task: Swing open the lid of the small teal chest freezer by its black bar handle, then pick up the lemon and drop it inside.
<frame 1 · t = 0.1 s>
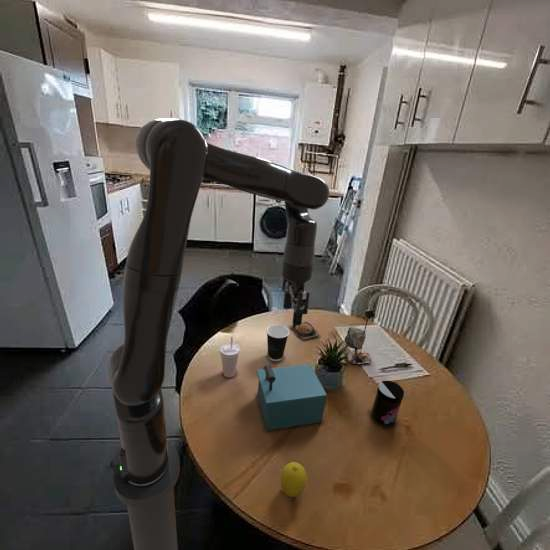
hand: (291, 316, 83), 27 cm above the table, tool pointing down, fingers open, 8 cm apart
supplement container: (382, 417, 89), on the table
lemon: (291, 492, 67), on the table
dixie cup: (275, 357, 110), on the table
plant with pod: (355, 358, 113), on the table
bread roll: (304, 332, 126), on the table
freezer lid: (291, 376, 84), point 12 cm above the table, hinge at 0.0°
freezer: (288, 408, 89), on the table
smoothie: (229, 374, 100), on the table
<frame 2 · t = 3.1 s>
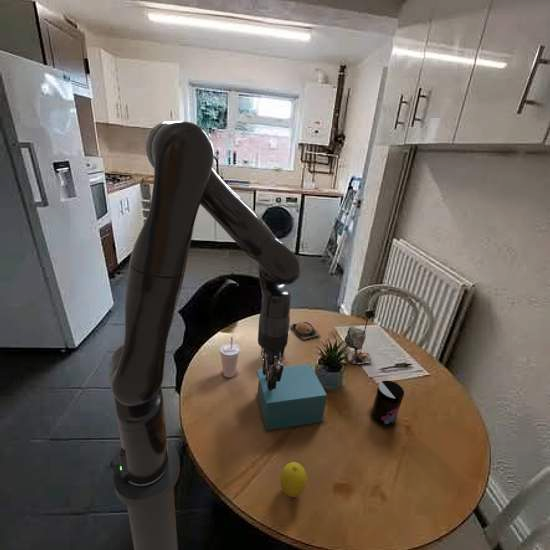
hand: (268, 380, 83), 11 cm above the table, tool pointing down, fingers closed on freezer lid, 5 cm apart
freezer lid: (291, 376, 84), point 12 cm above the table, hinge at 0.0°, touching gripper
everything else where it was.
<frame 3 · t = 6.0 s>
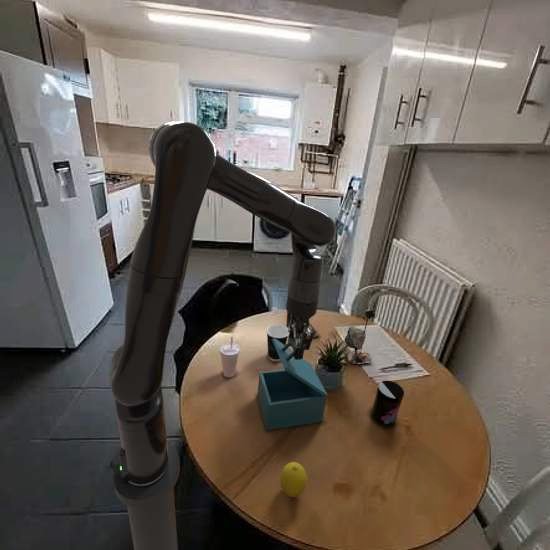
hand: (294, 351, 81), 20 cm above the table, tool pointing down, fingers closed on freezer lid, 5 cm apart
freezer lid: (305, 360, 83), point 16 cm above the table, hinge at 40.7°, touching gripper
everything else where it was.
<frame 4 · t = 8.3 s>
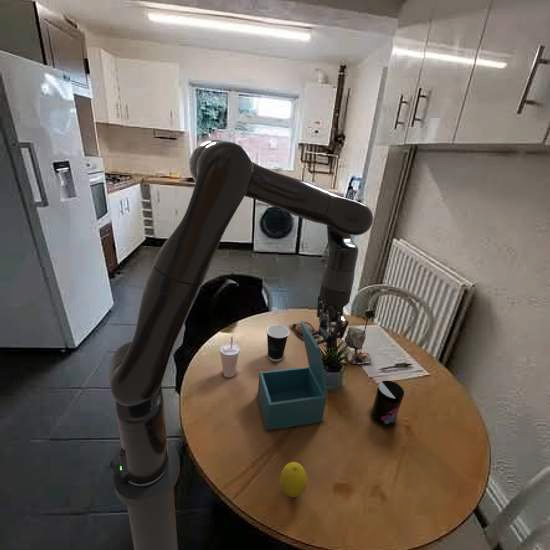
hand: (326, 340, 82), 22 cm above the table, tool pointing down, fingers closed on freezer lid, 5 cm apart
freezer lid: (322, 354, 84), point 18 cm above the table, hinge at 73.7°, touching gripper
everything else where it was.
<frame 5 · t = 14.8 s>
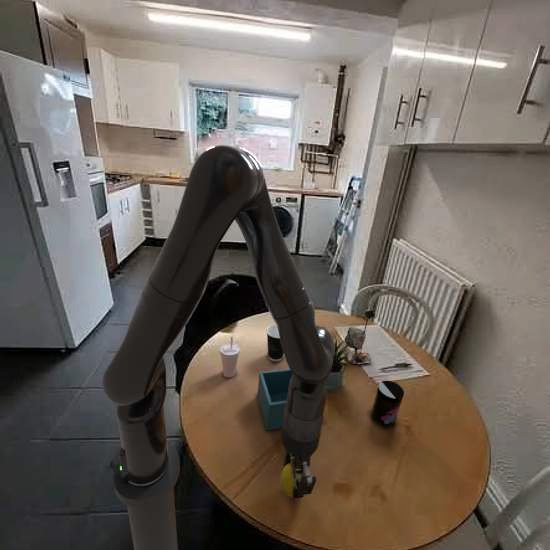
hand: (293, 481, 66), 4 cm above the table, tool pointing down, fingers closed on lemon, 5 cm apart
lemon: (291, 492, 67), on the table, touching gripper
freezer lid: (322, 354, 84), point 18 cm above the table, hinge at 74.4°
everything else where it was.
when the fingers open (10 cm above the table, at t = 22.2 s): lemon drops 5 cm, resting on freezer.
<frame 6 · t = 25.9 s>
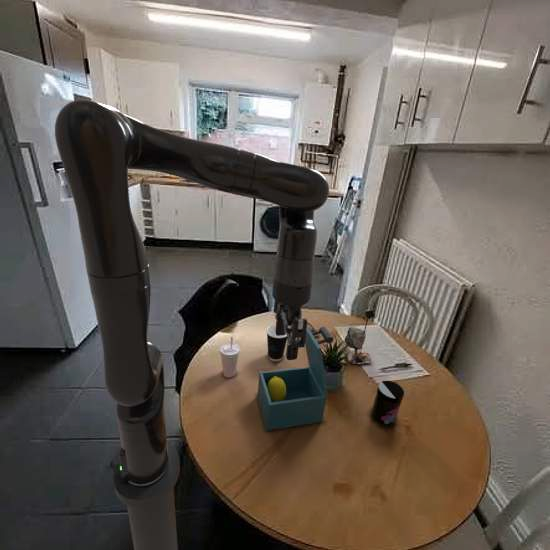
hand: (285, 346, 66), 30 cm above the table, tool pointing down, fingers open, 8 cm apart
lemon: (278, 405, 88), point 1 cm above the table, touching freezer
everything else where it was.
at the end: freezer lid at +74° (first picture: +0°); lemon inside the target area in the freezer (3.1 cm from its centre), point 1.4 cm above the freezer's base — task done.
